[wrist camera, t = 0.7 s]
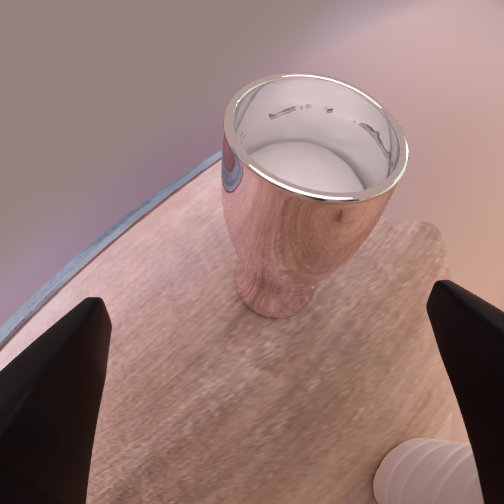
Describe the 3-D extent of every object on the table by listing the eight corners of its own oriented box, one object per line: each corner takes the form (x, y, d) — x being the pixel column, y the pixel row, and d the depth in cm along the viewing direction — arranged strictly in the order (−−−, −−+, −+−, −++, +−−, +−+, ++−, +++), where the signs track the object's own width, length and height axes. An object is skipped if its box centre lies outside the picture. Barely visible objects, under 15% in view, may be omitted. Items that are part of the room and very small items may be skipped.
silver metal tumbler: (229, 326, 22) (212, 207, 8) (228, 237, 25) (220, 67, 11) (327, 322, 22) (440, 210, 9) (316, 236, 25) (381, 78, 12)
